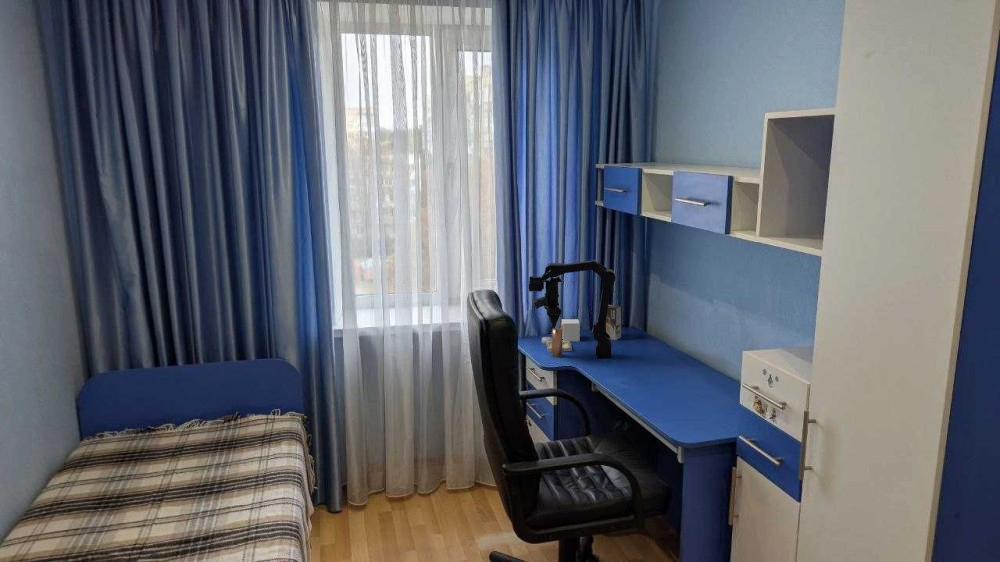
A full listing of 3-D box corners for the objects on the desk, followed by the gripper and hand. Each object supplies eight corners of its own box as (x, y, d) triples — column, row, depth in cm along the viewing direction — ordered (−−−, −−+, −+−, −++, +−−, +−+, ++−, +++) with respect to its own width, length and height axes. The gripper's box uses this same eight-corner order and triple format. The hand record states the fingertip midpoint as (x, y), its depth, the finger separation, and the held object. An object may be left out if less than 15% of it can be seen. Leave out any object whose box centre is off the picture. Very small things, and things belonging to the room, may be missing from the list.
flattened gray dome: (551, 341, 329) (551, 336, 328) (552, 344, 324) (552, 339, 323) (541, 341, 329) (541, 336, 328) (542, 344, 324) (542, 339, 323)
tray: (569, 344, 323) (569, 341, 323) (571, 351, 312) (572, 347, 312) (546, 344, 323) (546, 341, 323) (548, 351, 312) (548, 348, 312)
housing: (577, 336, 336) (577, 319, 334) (579, 341, 328) (579, 323, 327) (560, 336, 336) (560, 319, 334) (562, 341, 328) (562, 323, 327)
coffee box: (621, 337, 334) (622, 305, 331) (616, 340, 329) (616, 308, 326) (604, 334, 339) (605, 303, 336) (599, 337, 334) (599, 306, 331)
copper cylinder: (561, 354, 308) (562, 327, 306) (562, 357, 303) (563, 330, 301) (551, 354, 308) (551, 327, 306) (552, 357, 303) (552, 330, 301)
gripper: (532, 287, 311) (533, 320, 314) (535, 296, 293) (536, 331, 296) (556, 287, 312) (557, 319, 315) (561, 295, 293) (561, 330, 296)
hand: (552, 325), depth 305 cm, fingers open, 9 cm apart
